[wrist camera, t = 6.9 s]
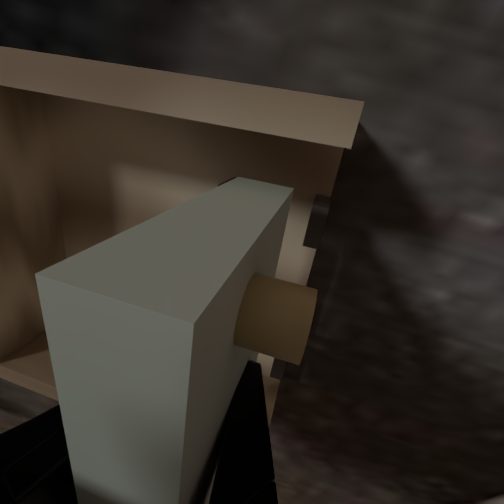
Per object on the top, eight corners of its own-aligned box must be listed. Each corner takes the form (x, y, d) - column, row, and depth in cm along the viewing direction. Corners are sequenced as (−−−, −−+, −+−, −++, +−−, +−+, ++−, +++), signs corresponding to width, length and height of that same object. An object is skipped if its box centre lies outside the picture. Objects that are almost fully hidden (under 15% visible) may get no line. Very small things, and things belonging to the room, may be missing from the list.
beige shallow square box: (280, 377, 18) (256, 481, 13) (76, 309, 21) (-14, 372, 15) (352, 113, 12) (364, 101, 6) (44, 64, 14) (-128, 26, 9)
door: (272, 415, 13) (212, 682, 7) (209, 393, 13) (99, 620, 7) (333, 196, 9) (323, 364, 2) (238, 176, 9) (34, 273, 3)
